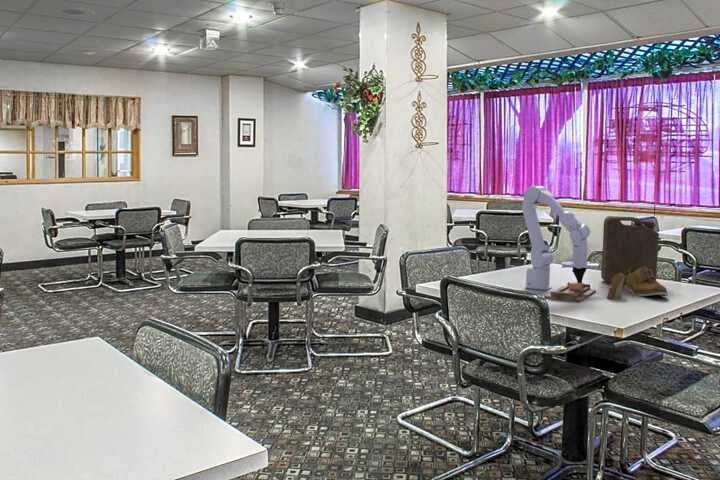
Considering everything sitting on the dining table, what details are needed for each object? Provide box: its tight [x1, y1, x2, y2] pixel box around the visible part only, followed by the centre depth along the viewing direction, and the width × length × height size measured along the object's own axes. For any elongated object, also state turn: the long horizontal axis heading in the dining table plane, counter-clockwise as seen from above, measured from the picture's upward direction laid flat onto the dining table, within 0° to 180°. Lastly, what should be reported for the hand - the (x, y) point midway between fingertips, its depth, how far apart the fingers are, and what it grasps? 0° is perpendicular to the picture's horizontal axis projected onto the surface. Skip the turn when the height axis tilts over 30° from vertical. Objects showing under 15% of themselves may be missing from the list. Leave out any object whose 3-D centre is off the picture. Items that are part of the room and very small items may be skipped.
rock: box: [606, 273, 625, 300], centre depth 269 cm, size 11×9×10 cm
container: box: [600, 215, 660, 285], centre depth 300 cm, size 22×10×30 cm, turn 81°
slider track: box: [544, 281, 597, 303], centre depth 272 cm, size 14×26×3 cm, turn 148°
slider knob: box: [569, 281, 585, 290], centre depth 278 cm, size 5×4×2 cm
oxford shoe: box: [624, 266, 669, 297], centre depth 276 cm, size 28×10×11 cm, turn 3°
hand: (580, 284), depth 281 cm, fingers closed
